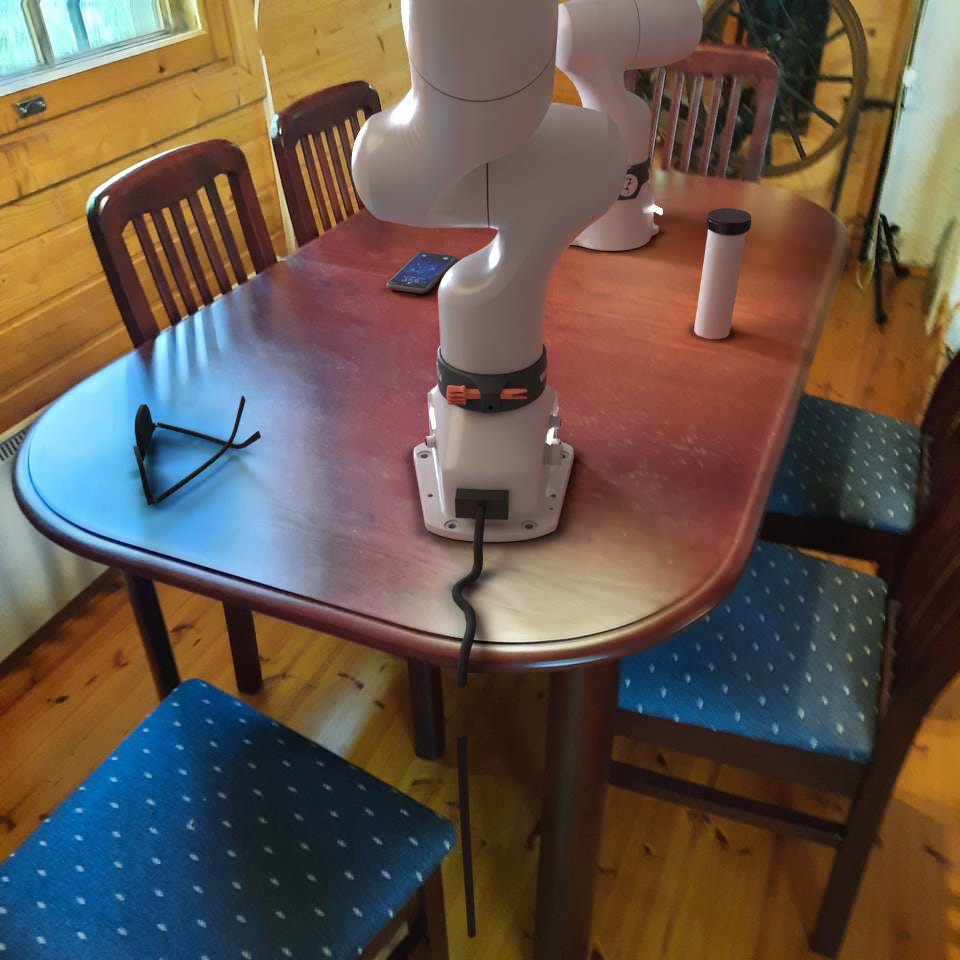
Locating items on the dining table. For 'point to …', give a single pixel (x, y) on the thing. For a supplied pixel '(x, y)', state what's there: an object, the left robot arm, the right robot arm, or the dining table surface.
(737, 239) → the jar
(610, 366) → the dining table surface
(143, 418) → the sunglasses
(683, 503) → the dining table surface
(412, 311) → the dining table surface
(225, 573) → the dining table surface
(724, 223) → the lid
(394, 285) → the smartphone
